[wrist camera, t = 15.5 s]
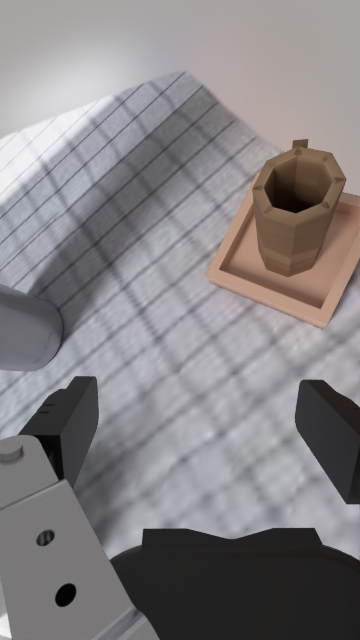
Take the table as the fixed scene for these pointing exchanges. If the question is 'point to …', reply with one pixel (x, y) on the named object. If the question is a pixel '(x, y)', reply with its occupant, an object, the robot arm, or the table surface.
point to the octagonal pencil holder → (295, 207)
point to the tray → (301, 289)
